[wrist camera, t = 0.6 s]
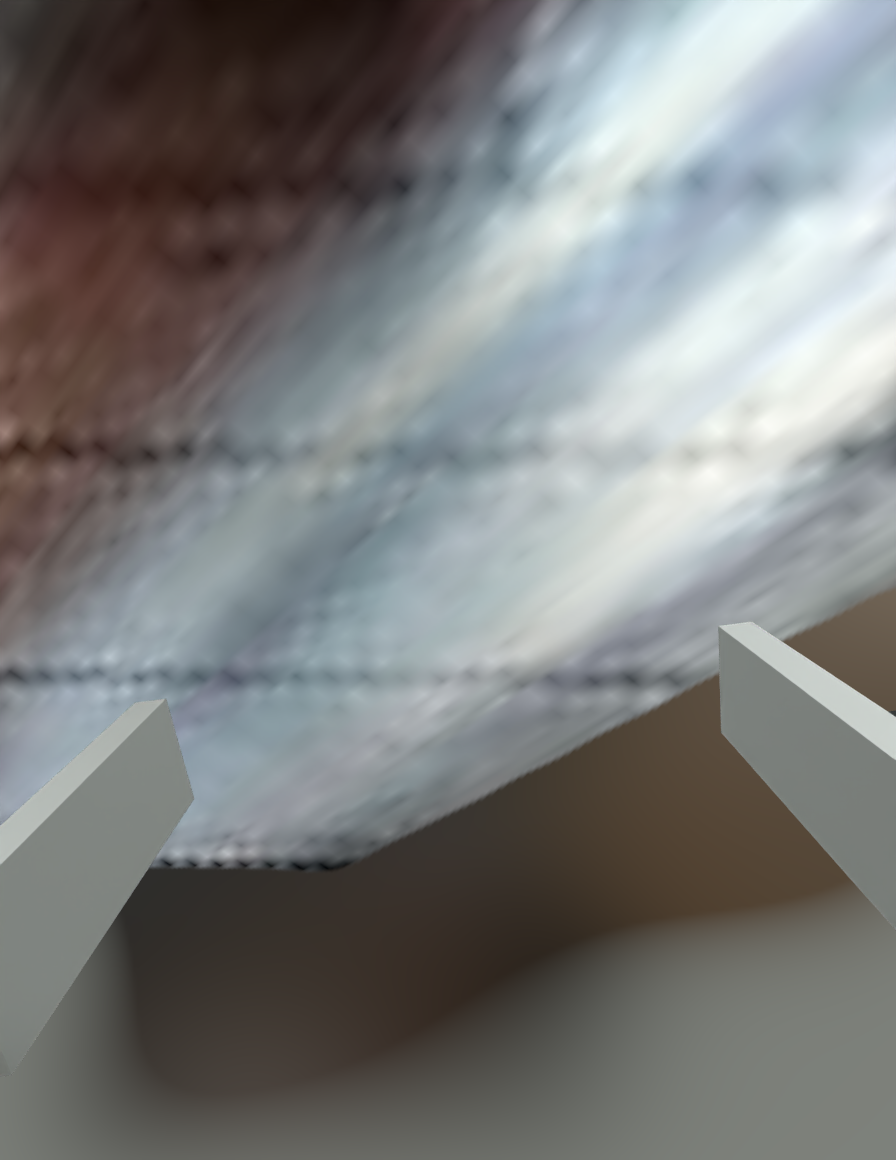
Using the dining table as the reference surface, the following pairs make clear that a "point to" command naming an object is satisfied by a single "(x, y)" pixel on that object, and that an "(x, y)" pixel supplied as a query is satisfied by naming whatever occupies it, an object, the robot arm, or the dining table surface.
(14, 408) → the dining table surface
